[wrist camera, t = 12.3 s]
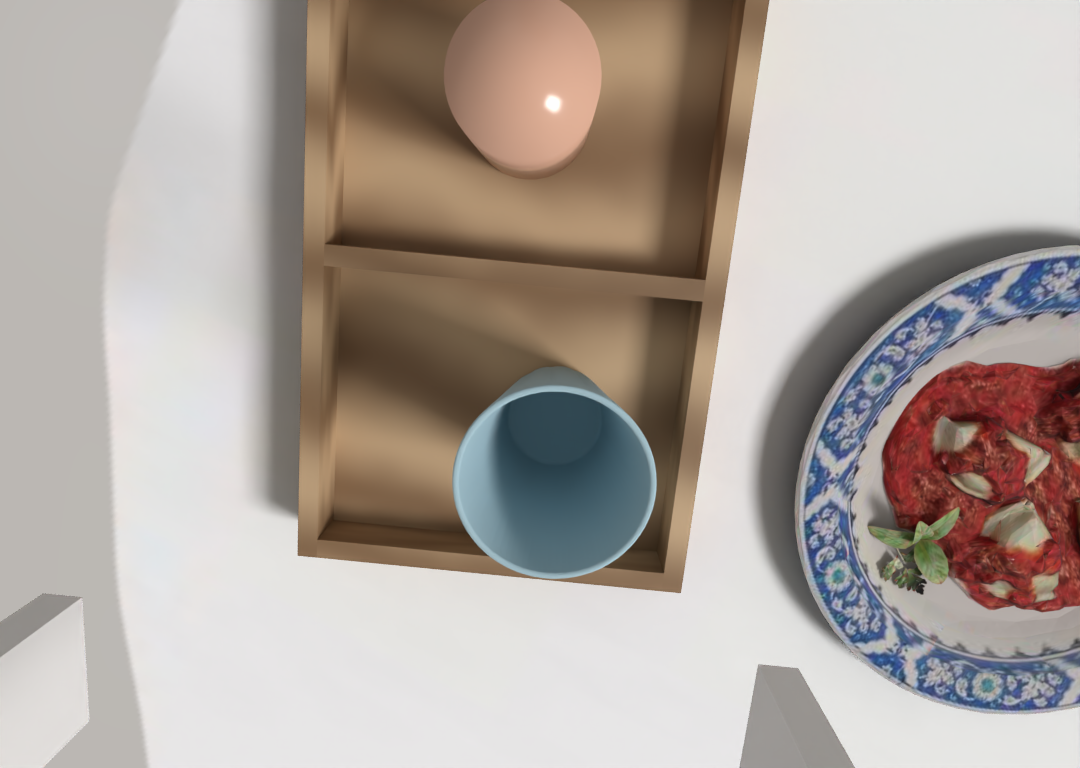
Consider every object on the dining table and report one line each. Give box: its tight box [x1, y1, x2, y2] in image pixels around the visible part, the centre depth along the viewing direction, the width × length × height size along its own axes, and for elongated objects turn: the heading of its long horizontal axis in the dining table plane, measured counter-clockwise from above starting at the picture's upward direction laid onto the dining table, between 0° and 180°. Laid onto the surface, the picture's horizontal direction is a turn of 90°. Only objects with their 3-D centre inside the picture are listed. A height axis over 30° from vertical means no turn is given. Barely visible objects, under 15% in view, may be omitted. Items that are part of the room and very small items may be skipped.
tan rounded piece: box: [444, 0, 602, 180], centre depth 28 cm, size 6×6×7 cm
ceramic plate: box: [795, 245, 1080, 714], centre depth 34 cm, size 26×26×3 cm
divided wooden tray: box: [298, 0, 769, 593], centre depth 32 cm, size 31×20×4 cm, turn 175°
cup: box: [452, 366, 657, 579], centre depth 29 cm, size 8×8×10 cm
